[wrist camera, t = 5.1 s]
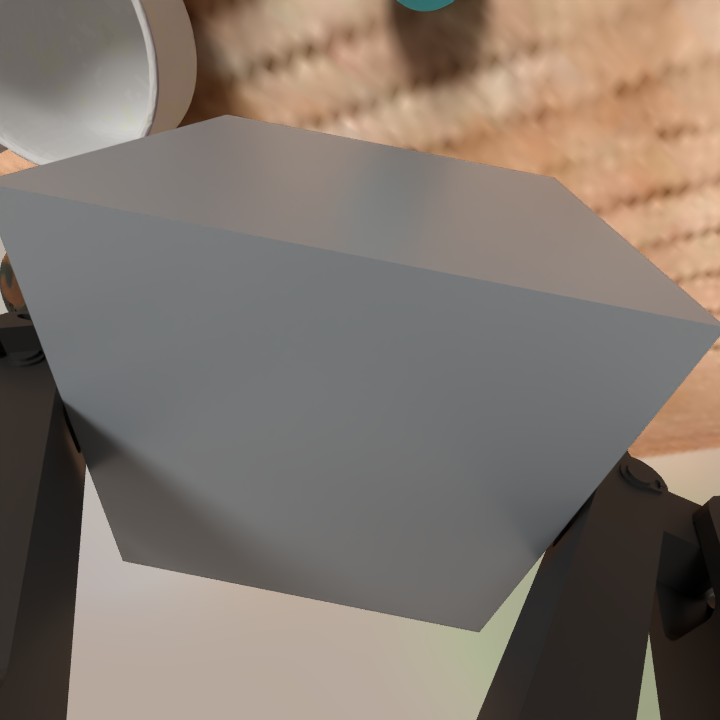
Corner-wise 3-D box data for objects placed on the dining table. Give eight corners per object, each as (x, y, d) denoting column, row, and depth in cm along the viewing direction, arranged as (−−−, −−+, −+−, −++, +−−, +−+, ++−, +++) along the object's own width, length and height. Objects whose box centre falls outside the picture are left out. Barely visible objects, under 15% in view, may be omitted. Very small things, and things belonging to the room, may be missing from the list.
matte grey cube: (554, 177, 13) (726, 327, 6) (456, 415, 19) (478, 632, 12) (227, 114, 13) (-21, 181, 6) (235, 371, 19) (122, 561, 12)
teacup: (139, -151, 19) (-5, -263, 12) (257, 107, 24) (199, 121, 18) (-50, 3, 23) (-231, -21, 17) (87, 193, 29) (-10, 231, 22)
